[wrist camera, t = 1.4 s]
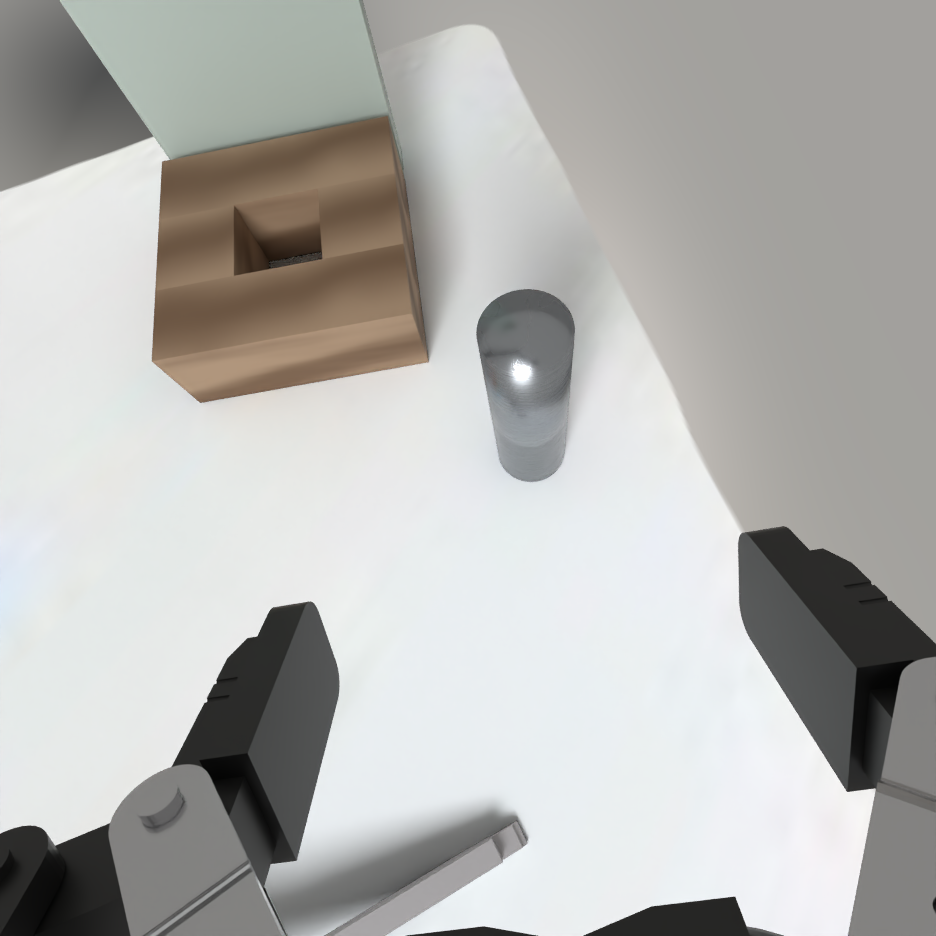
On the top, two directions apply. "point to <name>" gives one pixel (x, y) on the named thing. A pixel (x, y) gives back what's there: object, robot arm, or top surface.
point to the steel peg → (527, 379)
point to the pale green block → (237, 67)
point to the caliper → (435, 885)
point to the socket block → (294, 286)
